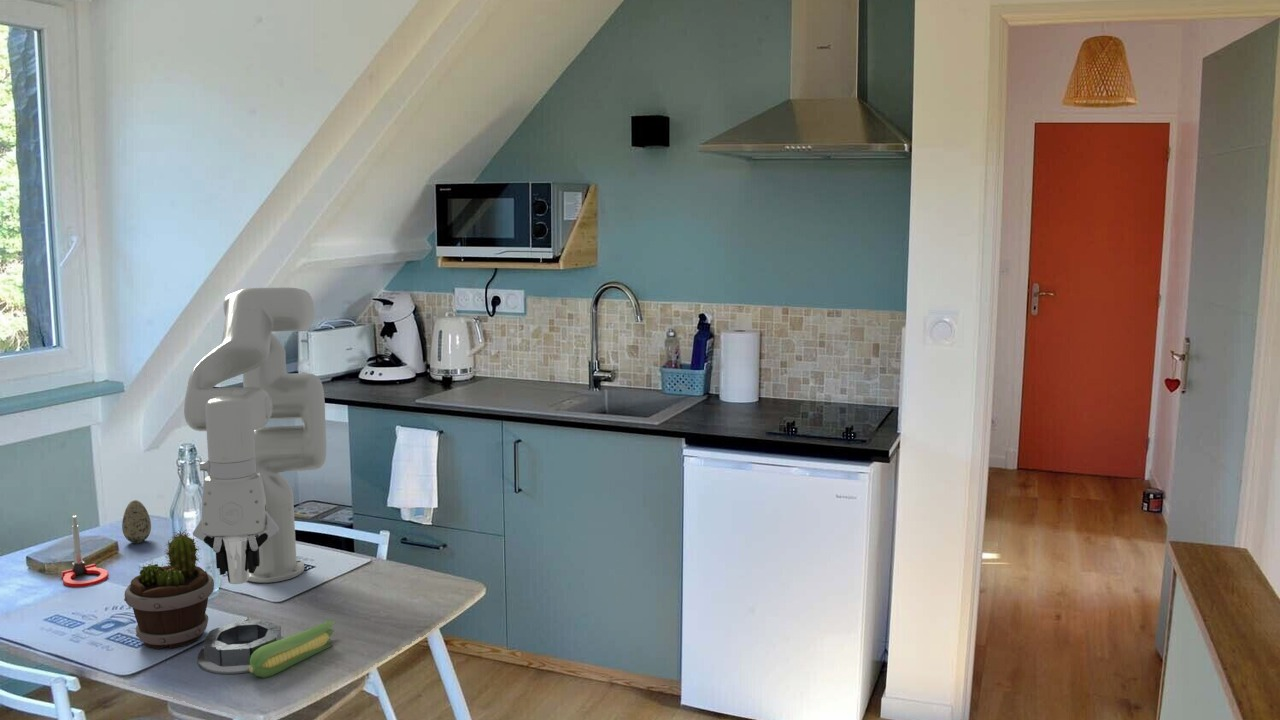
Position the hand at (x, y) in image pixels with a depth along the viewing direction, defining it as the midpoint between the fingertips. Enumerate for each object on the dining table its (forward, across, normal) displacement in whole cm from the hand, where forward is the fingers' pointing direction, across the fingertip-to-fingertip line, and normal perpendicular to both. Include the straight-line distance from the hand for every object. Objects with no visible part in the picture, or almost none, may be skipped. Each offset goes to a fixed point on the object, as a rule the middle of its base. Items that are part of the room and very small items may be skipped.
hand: (238, 570), depth 182 cm
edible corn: (+16, +10, -3) cm, 19 cm away
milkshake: (+2, 0, 0) cm, 2 cm away
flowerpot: (+16, -14, +9) cm, 23 cm away
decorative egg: (+15, -36, +64) cm, 75 cm away
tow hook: (+16, -40, +42) cm, 60 cm away
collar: (+16, 0, 0) cm, 16 cm away
